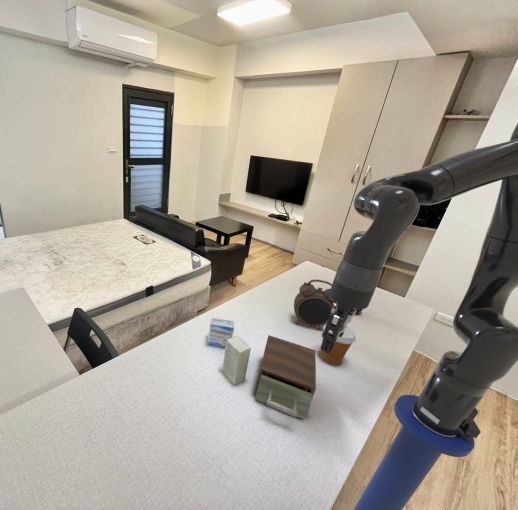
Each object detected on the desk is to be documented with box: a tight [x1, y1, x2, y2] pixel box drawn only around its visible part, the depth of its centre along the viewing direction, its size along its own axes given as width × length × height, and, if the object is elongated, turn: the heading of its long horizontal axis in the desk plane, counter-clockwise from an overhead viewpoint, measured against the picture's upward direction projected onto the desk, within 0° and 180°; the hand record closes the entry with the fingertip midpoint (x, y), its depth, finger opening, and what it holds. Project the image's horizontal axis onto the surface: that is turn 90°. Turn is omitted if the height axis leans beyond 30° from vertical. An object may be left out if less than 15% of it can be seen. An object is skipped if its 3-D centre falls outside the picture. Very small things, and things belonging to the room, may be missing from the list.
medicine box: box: [207, 317, 235, 349], centre depth 95 cm, size 8×4×9 cm, turn 81°
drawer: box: [254, 372, 313, 420], centre depth 76 cm, size 19×13×8 cm, turn 155°
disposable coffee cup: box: [319, 324, 357, 366], centre depth 92 cm, size 10×10×12 cm
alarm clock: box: [293, 279, 336, 331], centre depth 107 cm, size 15×7×20 cm, turn 72°
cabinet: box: [253, 334, 317, 417], centre depth 80 cm, size 16×14×10 cm
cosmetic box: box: [221, 335, 252, 385], centre depth 81 cm, size 6×4×12 cm
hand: (331, 342), depth 64 cm, fingers open, 8 cm apart
